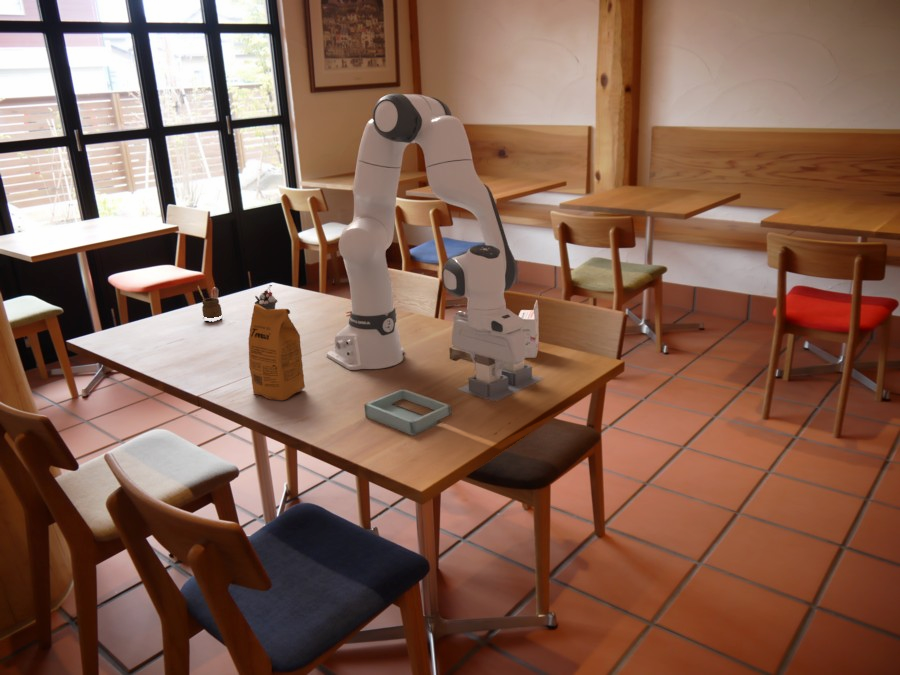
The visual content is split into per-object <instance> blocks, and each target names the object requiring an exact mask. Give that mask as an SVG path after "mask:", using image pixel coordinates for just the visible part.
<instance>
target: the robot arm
mask: <svg viewBox="0 0 900 675" xmlns="http://www.w3.org/2000/svg"><path fill="white" fill-rule="evenodd" d="M361 136H362V137H361V140H360V144H359V148H358V152H357V153H358V154H357V159H356V163H355V166H356V167H355V172H354V179H353V180H354V181H353V184H352V185H353V186H352V194H353V217H352V218H353V219H352V221H351V222H350V223H349V224H348V225H347V226H345V227H344V228H343V230H342V231H341V234H340V237H339V240H338V250H339V253H340V255H341V257H342V259H343V264H344V267H345V270H346V275H347V278H348V282H349V289H350V291H349V292H350V301H351V302H350V303H351V311H347V312H346V314H347V315H346V317H349V319H348V323H347V325H346V326H344V327H343V328H342V329H341V330H340V331H338V333H337V334H336V335H335V338H334V348H332V349H330V350H329V351H327V353H326V357H327V358H328V359H330V360H332V361H333V362H335V363H337V364H339V365H340V366H342V367H343V368H345V369H348V370H350V371H359V370H377V369H378V370H379V369H385V368H390V367H393V366H396V365H399V363H401V362H403V361H404V355H403V354H404V352H405V350H404V348H403V347H402V344H401V339H400V332H399V327H398V325H397V324H396V322H397V311H396V308H395V307H394V294H393V293H394V292H393V280H392V278H391V276H390V272H389V268H388V262H387V257H386V251H387V249H389V248H390V246H391V245H392V243H393V240H394V234H395V222H396V203H397V195H398V189H399V183H400V177H401V170H402V164H403V157H404V153H405V149H406V148H407V146H409V145H410V144H416V145H419V147H420V148H421V150H422V152H423V156H424V163H425V164H424V165H425V170H426V177H427V182H428V186H429V188H430V190H431V192H432V193H433V195H435V196H436V198H437V199H439V200H440V201H442V202H444V203H447V204H449V205H452V206H455V207H459V208H462V209H464V210H466V211H468V212H470V213H472V214H473V215H474V217H475V218H476V220H477V222H478V225H479V229H480V232H481V234H482V237H483V240H484V244H478V245H473V246H471V247H470V248H468V249H467V251H466V253H463V254H461V255H457V256H453V257H450V258H449V259H448V260H447V261H446V262H445V263H444V266H443V268H442V272H441V274H442V275H441V276H442V278H441V279H442V283H443V288H444V289H445V291H447V292H448V293H449V294H450V295H452V296H454V297H457V298H458V297H459V298H461V297H462V298H463V297H465V298H467V304H466V309H467V312H465V311H462V310H459V311H457V312H455V314H454V315H453V326H452V333H451V344H452V347H453V346H454V348H456V349H459V350H463V351H466V352H470V354H471V358H472V360H473V361H472V362H473V364H474V370H475V372H476V362H475V354H479V355H482V356H486V357H489V358H492V359H495V363H496V364H497V365H496V367H495V368H493V369H492V375H493V376H496V377H499V376H501V375H502V367H503V366H504V364H505V362H506V363H510V364H513V365H515V364H518V363H520V362H522V361H523V360H524V361H525V359H526V358H525V357H526V342H525V335H524V332H523V331H522V330H521V329H520V328H522V327H523V326H524V320H523V319H522V318H521V317H519V315H517V314H516V313H514V312H513V311H511V310H510V309H509V308H507V306H506V305H507V304H506V299H505V295H504V294H505V292H507V291H508V290H510V289H511V288H512V287H513V285H514V284H515V282H516V280H517V277H518V275H519V268H518V265H517V261H516V259H515V256H514V255H513V253H512V250H511V249H510V246H509V242H508V240H507V237H506V233H505V231H504V230H505V229H504V226H503V223H502V220H501V217H500V214H499V210H498V208H497V204H496V201H495V198H494V195H493V193H492V191H491V189H490V187H489V186H488V185H487V184H485V183H484V182H482V181H481V179H480V177H479V175H478V173H477V172H476V171H477V170H476V169H475V165H474V160H473V155H472V154H473V153H472V151H471V149H472V148H471V145H470V141H469V138H468V135H467V132H466V129H465V126H464V123H463V122H462V121H461V120H460V119H459V118H458V117H456V116H454V115H452V112H451V110H450V108H449V106H448V105H447V104H446V103H445V102H443V101H442V100H440V99H439V98H436V97H431V96H430V97H429V96H427V95H423V94H417V93H412V94H405V93H404V94H402V93H397V92H396V93H389V94H387V95H384V96H382V97H380V98H379V99H378V100H377V102H376V103H375V105H374V108H373V111H372V118H371V119H369V120H368V122H367V123H366V125H365V127H364V130H363V133H362V135H361Z"/></svg>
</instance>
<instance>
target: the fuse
mask: <svg viewBox="0 0 900 675" xmlns="http://www.w3.org/2000/svg"><path fill="white" fill-rule="evenodd" d="M524 364H525V359H524V360H523V361H522V362H520V363H518V364H515V365H513V364H510V363H506V362H505V364H504V366H503V367H502V369H503V370H507V371H510V372H517V371H519V370H521V369H523V368H524Z"/></svg>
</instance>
